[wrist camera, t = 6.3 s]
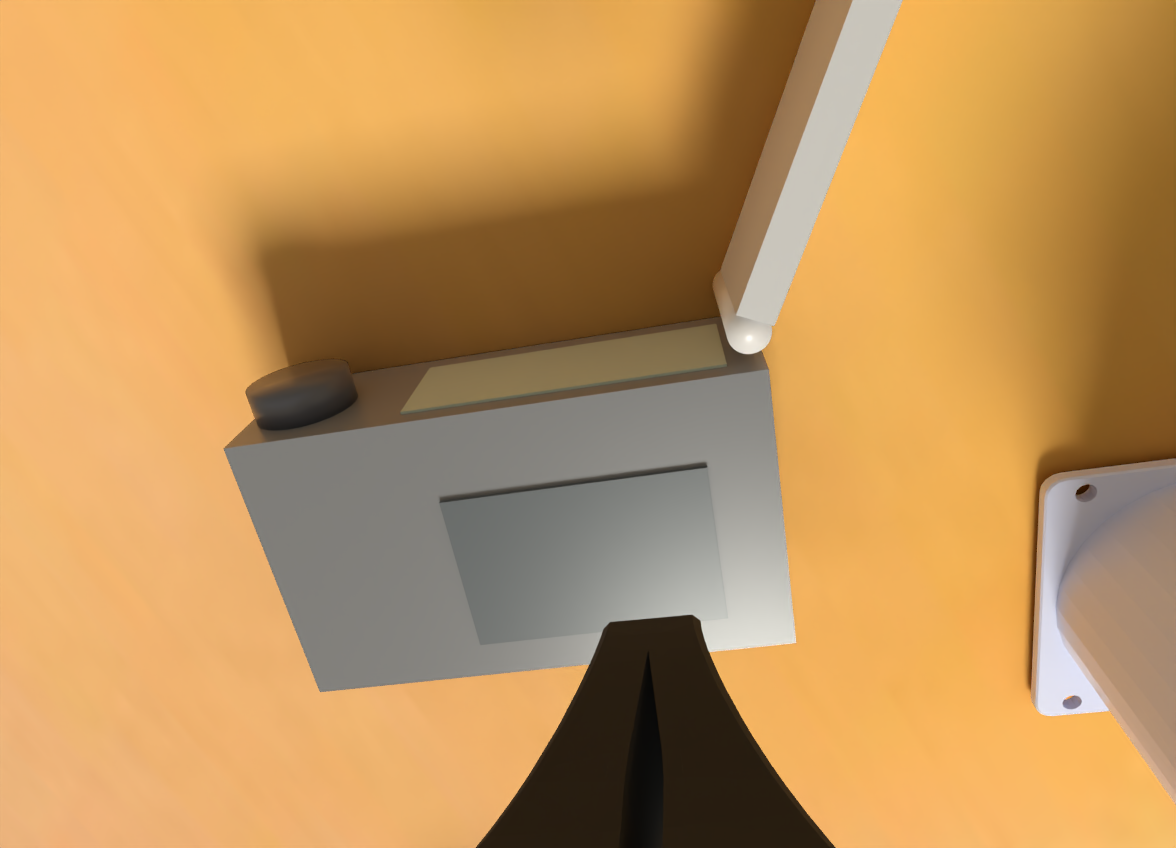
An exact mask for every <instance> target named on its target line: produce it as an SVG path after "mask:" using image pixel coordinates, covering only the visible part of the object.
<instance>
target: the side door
mask: <svg viewBox="0 0 1176 848" xmlns="http://www.w3.org/2000/svg"><path fill="white" fill-rule="evenodd" d="M901 3H902V0H816V1H815V4H814V7H813V10H812V12H811V15H810V18H809V21H808V24H807V26H806V29H805V32H804V35H803V38H802V41H801V43H800V46H799V49H798V52H797V55H796V58H795V60H794V63H793V66H792V69H791V72H790V75H789V77H788V80H787V83H786V86H785V89H784V91H783V94H782V97H781V100H780V103H779V106H778V108H777V111H776V114H775V117H774V120H773V123H772V125H771V128H770V131H769V134H768V137H767V140H766V142H765V145H764V148H763V151H762V154H761V157H760V159H759V162H758V165H757V168H756V171H755V173H754V176H753V179H752V182H751V185H750V188H749V190H748V193H747V196H746V199H745V202H744V205H743V207H742V210H741V213H740V216H739V219H738V222H737V224H736V227H735V230H734V233H733V236H732V238H731V241H730V244H729V247H728V250H727V253H726V255H725V258H724V261H723V264H722V267H721V270H720V271H719V272H718V273H717V274H716V275H715V277H714V279H713V291H714V294H715V298H716V301H717V305H718V308H719V312H720V315H721V318H722V322H723V325H724V329H725V332H726V336H727V339H728V342H729V344H730V345H731V347H732V348H733V349H734V350H736V351H738V352H740V353H743V354H753V353H757V352H759V351H761V350H762V349H764V348H765V347H766V346H767V344H768V343H769V341H770V339H771V336H772V327H771V325H772V326H775V323H776V321H777V318H778V315H779V313H780V310H781V308H782V305H783V303H784V300H785V298H786V295H787V293H788V290H789V288H790V285H791V282H792V280H793V277H794V275H795V272H796V270H797V267H798V265H799V262H800V260H801V257H802V255H803V252H804V249H805V247H806V244H807V242H808V239H809V237H810V234H811V232H812V229H813V227H814V224H815V221H816V219H817V216H818V214H819V211H820V209H821V206H822V204H823V201H824V199H825V196H826V194H827V191H828V188H829V186H830V183H831V181H832V178H833V176H834V173H835V171H836V168H837V166H838V163H839V161H840V158H841V155H842V153H843V150H844V148H845V145H846V143H847V140H848V138H849V135H850V133H851V130H852V127H853V125H854V122H855V120H856V117H857V115H858V112H859V110H860V107H861V105H862V102H863V100H864V97H865V94H866V92H867V89H868V87H869V84H870V82H871V79H872V77H873V74H874V72H875V69H876V67H877V64H878V61H879V59H880V56H881V54H882V51H883V49H884V46H885V44H886V41H887V39H888V36H889V33H890V31H891V28H892V26H893V23H894V21H895V18H896V16H897V13H898V11H899V8H900V6H901Z"/></svg>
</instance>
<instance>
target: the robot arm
mask: <svg viewBox="0 0 1176 848" xmlns="http://www.w3.org/2000/svg"><path fill="white" fill-rule="evenodd" d="M1086 484H1090V486H1089V488H1088V490H1087V491H1086V492H1084V493H1082V494H1079V495H1075V494H1076V491H1077V490H1078V489H1079V488H1080V487H1081V486H1083V485H1086ZM1072 695H1074V696H1073V697H1071V698H1070V699H1066V700H1064V699H1065V698H1067V697H1068V696H1072ZM1031 700H1032V703H1033V704H1034V706H1035V708H1036V709H1037V710H1038V712H1039V713H1041V714H1043V715H1046V716H1057V715H1068V714H1080V713H1091V712H1102V711H1110V712H1111V714H1112V715H1113V716H1114V718H1115V719H1116V721H1117V722H1118V723H1119V725H1120V726H1121V728H1122V729H1123V731H1124V732H1125V733H1126V735H1127V736H1128V738H1129V739H1130V741H1131V742H1132V743H1133V745H1134V746H1135V748H1136V749H1137V750H1138V752H1139V753H1140V755H1141V756H1142V758H1143V759H1144V760H1145V762H1146V763H1147V765H1148V766H1149V767H1150V769H1151V770H1152V772H1153V773H1154V775H1155V776H1156V777H1157V779H1158V780H1159V782H1160V783H1161V785H1162V786H1163V787H1164V789H1165V790H1166V792H1167V793H1168V794H1169V796H1170V797H1171V799H1172V800H1173V802H1174V803H1175V804H1176V458H1174V459H1166V460H1158V461H1149V462H1141V463H1133V464H1125V465H1117V466H1109V467H1101V468H1093V469H1085V470H1077V471H1069V472H1061V473H1057V474H1054V475H1052V476H1050V477H1049V478H1047V479H1046V480H1045V481H1044V482H1043V484H1042V485H1041V488H1040V493H1039V516H1038V540H1037V564H1036V588H1035V612H1034V635H1033V659H1032V683H1031ZM476 848H835V847H834V845H833V844H832V843H831V842H830V841H829V839H828V838H827V837H826V836H825V835H824V833H823V832H822V831H821V830H820V829H819V827H818V826H817V825H816V824H815V822H814V821H813V820H812V819H811V818H810V816H809V815H808V814H807V813H806V811H805V810H804V809H803V807H802V806H801V805H800V804H799V802H798V801H797V800H796V798H795V797H794V796H793V794H792V793H791V792H790V790H789V789H788V788H787V786H786V785H785V784H784V782H783V781H782V779H781V778H780V777H779V775H778V774H777V772H776V771H775V770H774V768H773V767H772V765H771V764H770V762H769V761H768V759H767V758H766V756H765V755H764V753H763V752H762V750H761V748H760V747H759V745H758V744H757V742H756V741H755V739H754V738H753V736H752V734H751V733H750V731H749V729H748V728H747V726H746V724H745V723H744V721H743V719H742V718H741V716H740V714H739V712H738V710H737V709H736V707H735V705H734V703H733V701H732V699H731V698H730V696H729V694H728V692H727V690H726V688H725V686H724V684H723V682H722V680H721V678H720V676H719V674H718V672H717V670H716V667H715V665H714V663H713V661H712V658H711V656H710V653H709V651H708V648H707V645H706V642H705V639H704V635H703V632H702V628H701V621H700V620H699V619H698V618H696V617H695V616H694V615H682V616H671V617H660V618H649V619H638V620H627V621H616V622H609V624H608V625H607V626H606V627H605V628H604V629H603V632H602V635H601V638H600V640H599V643H598V645H597V648H596V650H595V653H594V655H593V658H592V660H591V662H590V664H589V667H588V669H587V671H586V673H585V675H584V677H583V680H582V682H581V684H580V686H579V688H578V690H577V692H576V694H575V696H574V698H573V700H572V701H571V703H570V705H569V707H568V709H567V711H566V713H565V715H564V717H563V719H562V721H561V723H560V724H559V726H558V728H557V730H556V731H555V733H554V735H553V737H552V738H551V740H550V741H549V743H548V745H547V746H546V748H545V750H544V751H543V753H542V755H541V756H540V758H539V760H538V761H537V763H536V765H535V766H534V768H533V770H532V771H531V773H530V774H529V776H528V777H527V779H526V780H525V782H524V783H523V785H522V786H521V788H520V789H519V791H518V792H517V794H516V795H515V797H514V798H513V799H512V801H511V802H510V804H509V805H508V806H507V808H506V809H505V811H504V812H503V813H502V815H501V816H500V817H499V819H498V820H497V821H496V823H495V824H494V825H493V827H492V828H491V829H490V831H489V832H488V833H487V834H486V836H485V837H484V838H483V839H482V841H481V842H480V843H479V844H478V845H477V847H476Z"/></svg>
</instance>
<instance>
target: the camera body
mask: <svg viewBox="0 0 1176 848" xmlns="http://www.w3.org/2000/svg"><path fill="white" fill-rule="evenodd" d="M246 396H247V399H248V401H249V404H250V407H251V409H252V412H253V415H254V417H255V419H254V420H253V421H252V422H251V423H250V424H249V425H248V426H247V427H246V428H245V429H244V430H243V431H242V432H241V433H239V434H238V435H237V436H236V437H235V438H234V439H233V440H232V441H231V442H230V443H229V444H228V445H227V446H226V447H225V448H224V451H225V454H226V456H227V459H228V461H229V464H230V466H231V469H232V471H233V474H234V476H235V479H236V481H237V484H238V486H239V489H240V491H241V494H242V497H243V499H244V502H245V504H246V507H247V509H248V512H249V514H250V517H251V519H252V522H253V524H254V527H255V529H256V532H257V534H258V537H259V539H260V542H261V544H262V547H263V549H264V552H265V554H266V557H267V560H268V562H269V565H270V567H271V570H272V572H273V575H274V577H275V580H276V582H277V585H278V587H279V590H280V592H281V595H282V597H283V600H284V602H285V605H286V607H287V610H288V612H289V615H290V618H291V620H292V623H293V625H294V628H295V630H296V633H297V635H298V638H299V640H300V643H301V645H302V648H303V650H304V653H305V655H306V658H307V660H308V663H309V665H310V668H311V670H312V673H313V675H314V678H315V681H316V683H317V686H318V688H319V691H320V692H326V691H335V690H345V689H355V688H365V687H374V686H384V685H394V684H403V683H413V682H423V681H432V680H442V679H452V678H462V677H471V676H481V675H491V674H500V673H510V672H520V671H529V670H539V669H549V668H559V667H568V666H578V665H588V664H590V662H591V660H592V658H593V655H594V653H595V650H596V648H597V645H598V643H599V640H600V638H601V635H602V632H603V629H604V628H605V627H606V626H607V625H608V624H609V622H616V621H627V620H638V619H649V618H660V617H671V616H682V615H694V616H695V617H696V618H698V619H699V620H700V621H701V628H702V632H703V635H704V639H705V642H706V645H707V648H708V651H709V652H714V651H723V650H733V649H743V648H753V647H762V646H772V645H782V644H791V643H796V637H795V627H794V617H793V607H792V597H791V587H790V577H789V567H788V557H787V547H786V537H785V527H784V517H783V507H782V497H781V487H780V477H779V467H778V457H777V447H776V437H775V427H774V417H773V407H772V397H771V387H770V377H769V369H768V366H767V364H766V361H765V358H764V356H763V353H762V351H759V352H757V353H753V354H743V353H740V352H738V351H736V350H734V349H733V348H732V347H731V345H730V344H729V342H728V339H727V336H726V332H725V329H724V325H723V322H722V318H721V317H715V318H708V319H702V320H695V321H689V322H682V323H676V324H669V325H663V326H656V327H650V328H644V329H637V330H631V331H624V332H618V333H611V334H605V335H598V336H592V337H585V338H579V339H572V340H566V341H560V342H553V343H547V344H540V345H534V346H527V347H521V348H514V349H508V350H501V351H495V352H488V353H482V354H476V355H469V356H463V357H456V358H450V359H443V360H437V361H430V362H424V363H417V364H411V365H404V366H398V367H392V368H385V369H379V370H372V371H366V372H359V373H353V374H351V371H350V368H349V365H348V363H347V362H346V361H344V360H341V359H323V360H315V361H310V362H305V363H301V364H297V365H293V366H290V367H287V368H284V369H281V370H278V371H276V372H273V373H271V374H268V375H266V376H264V377H262V378H260V379H259V380H257V381H255V382H254V383H252V384H251V385H250V386H249V387H248V388H247V389H246Z"/></svg>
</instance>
